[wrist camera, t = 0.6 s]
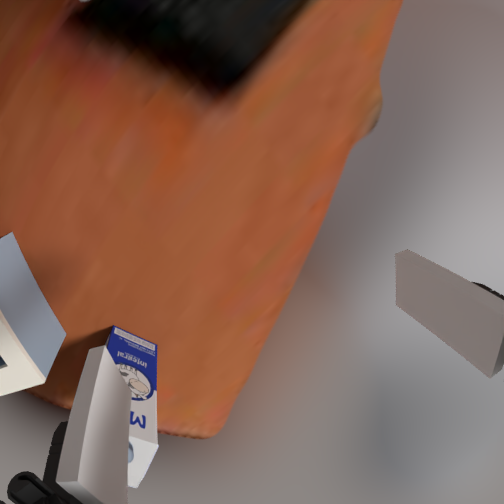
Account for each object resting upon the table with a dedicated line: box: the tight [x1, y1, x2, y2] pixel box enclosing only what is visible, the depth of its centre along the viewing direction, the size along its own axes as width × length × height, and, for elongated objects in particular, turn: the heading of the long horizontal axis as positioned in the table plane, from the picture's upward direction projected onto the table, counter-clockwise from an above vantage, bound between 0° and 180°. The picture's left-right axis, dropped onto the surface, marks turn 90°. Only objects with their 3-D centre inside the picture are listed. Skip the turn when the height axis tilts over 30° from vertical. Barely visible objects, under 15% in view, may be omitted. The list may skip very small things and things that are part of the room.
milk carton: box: [105, 325, 159, 488], centre depth 32 cm, size 7×7×20 cm
